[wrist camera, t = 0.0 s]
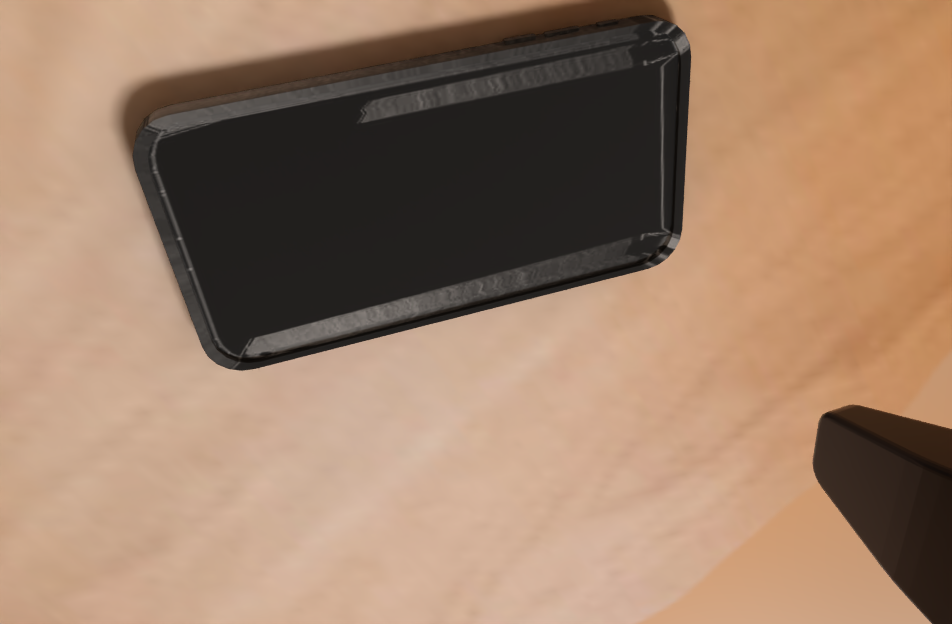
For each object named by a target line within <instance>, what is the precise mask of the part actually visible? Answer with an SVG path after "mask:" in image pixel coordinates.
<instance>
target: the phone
mask: <svg viewBox="0 0 952 624" xmlns="http://www.w3.org/2000/svg"><path fill="white" fill-rule="evenodd" d="M690 68H691V51H690V44H689V41H688V39H687V37H686V35H685V33H684V32H683V31H682V30H681V29H680V28H679V27H678V26H677V25H675V24H672V23H670V22H668V21H665V20H663V19H661V18H658V17H656V16H653V15H642V16H636V17H630V18H625V19H620V20H616V19H614V20H609V21H603V22H598V23H596V24H594V25H588V26H583V27H578V26H574V27H568V28H563V29H558V30H553V31H547V32H544V34H541V35H536V36H535V34H528V35H522V36H517V37H512V38H507V39H503V42H499V43H494V44H488V45H483V46H478V47H473V48H467V49H462V50H457V51H451V52H446V53H441V54H436V55H430V56H425V57H420V58H415V59H409V60H404V61H399V62H394V63H388V64H383V65H378V66H373V67H367V68H362V69H357V70H352V71H346V72H341V73H336V74H330V75H325V76H320V77H315V78H309V79H304V80H299V81H294V82H288V83H283V84H278V85H273V86H267V87H262V88H257V89H252V90H246V91H241V92H236V93H231V94H225V95H220V96H215V97H209V98H204V99H199V100H194V101H188V102H183V103H178V104H173V105H169V106H166V107H163V108H160V109H157V110H155V111H154V112H153V113H151V114H150V115H149V116H148V117H146V118H145V119H144V121H143V122H142V124H141V126H140V127H139V129H138V131H137V135H136V139H135V145H134V151H133V161H134V166H135V171H136V173H137V176H138V179H139V181H140V184H141V186H142V189H143V192H144V194H145V197H146V200H147V202H148V205H149V208H150V210H151V213H152V216H153V218H154V221H155V223H156V226H157V229H158V231H159V234H160V237H161V239H162V242H163V245H164V247H165V250H166V253H167V255H168V258H169V260H170V263H171V266H172V268H173V271H174V274H175V276H176V279H177V282H178V284H179V287H180V290H181V292H182V295H183V297H184V300H185V303H186V305H187V308H188V311H189V313H190V316H191V319H192V321H193V324H194V327H195V329H196V332H197V335H198V337H199V340H200V342H201V345H202V348H203V349H204V351H205V353H206V354H207V356H208V357H209V358H210V359H211V360H213V361H214V362H215V363H216V364H218V365H220V366H223V367H225V368H228V369H233V370H241V371H242V370H250V369H256V368H260V367H264V366H268V365H272V364H276V363H280V362H284V361H288V360H292V359H295V358H299V357H303V356H307V355H311V354H315V353H319V352H323V351H327V350H331V349H335V348H339V347H343V346H347V345H350V344H354V343H358V342H362V341H366V340H370V339H374V338H378V337H382V336H386V335H390V334H394V333H398V332H402V331H405V330H409V329H413V328H417V327H421V326H425V325H429V324H433V323H437V322H441V321H445V320H449V319H453V318H457V317H461V316H464V315H468V314H472V313H476V312H480V311H484V310H488V309H492V308H496V307H500V306H504V305H508V304H512V303H516V302H519V301H523V300H527V299H531V298H535V297H539V296H543V295H547V294H551V293H555V292H559V291H563V290H567V289H571V288H574V287H578V286H582V285H586V284H590V283H594V282H598V281H602V280H606V279H610V278H614V277H618V276H622V275H626V274H630V273H633V272H637V271H641V270H645V269H649V268H651V267H654V266H656V265H658V264H660V263H661V262H663V261H664V260H665V259H667V258H668V257H669V256H670V254H671V253H672V252H673V251H674V250H675V248H676V246H677V244H678V242H679V240H680V237H681V232H682V222H683V203H684V183H685V164H686V145H687V126H688V107H689V87H690Z"/></svg>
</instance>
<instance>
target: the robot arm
mask: <svg viewBox="0 0 952 624" xmlns="http://www.w3.org/2000/svg"><path fill="white" fill-rule="evenodd" d="M813 469H814V473H815V476H816V478H817V480H818V482H819V484H820V485H821V487H822V488H823V490H824V491H825V492H826V494H827V495H828V496H829V498H830V499H831V500H832V502H833V503H834V504H835V506H836V507H837V508H838V510H839V511H840V512H841V513H842V515H843V516H844V517H845V519H846V520H847V522H848V523H849V524H850V526H851V527H852V528H853V529H854V531H855V532H856V533H857V535H858V536H859V537H860V539H861V540H862V541H863V543H864V544H865V545H866V547H867V548H868V549H869V551H870V552H871V553H872V555H873V556H874V557H875V559H876V560H877V561H878V563H879V564H880V565H881V567H882V568H883V569H884V570H885V572H886V573H887V574H888V575H889V577H890V578H891V579H892V580H893V581H894V583H895V584H896V585H897V586H898V587H899V588H900V589H901V590H902V591H903V593H904V594H905V595H906V596H907V597H908V598H909V599H910V600H911V602H913V604H914V605H915V606H916V607H917V608H918V609H919V610H920V611H921V612H922V613H923V614H924V616H925V617H926V618H927V619H928V620H929V621H930V622H931V623H932V624H952V429H949V428H945V427H941V426H937V425H934V424H930V423H926V422H921V421H918V420H914V419H910V418H906V417H902V416H899V415H895V414H891V413H887V412H883V411H879V410H875V409H871V408H867V407H864V406H860V405H848V406H844V407H841V408H838V409H835V410H832V411H829V412H827V413H825V414H823V415H822V416H821V418H820V420H819V423H818V429H817V436H816V442H815V449H814V455H813Z"/></svg>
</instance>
